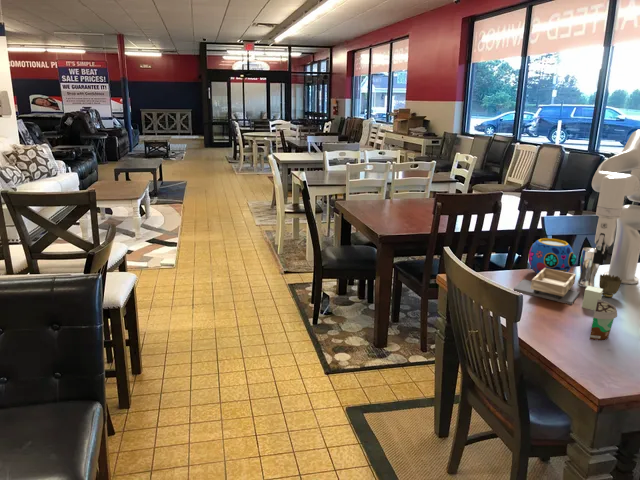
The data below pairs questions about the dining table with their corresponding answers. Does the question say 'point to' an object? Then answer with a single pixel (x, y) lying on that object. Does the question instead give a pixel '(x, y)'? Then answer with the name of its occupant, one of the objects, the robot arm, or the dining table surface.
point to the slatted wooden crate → (553, 282)
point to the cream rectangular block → (591, 297)
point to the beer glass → (587, 268)
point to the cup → (609, 285)
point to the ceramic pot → (551, 255)
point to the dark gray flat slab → (526, 288)
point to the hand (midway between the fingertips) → (599, 261)
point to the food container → (602, 320)
